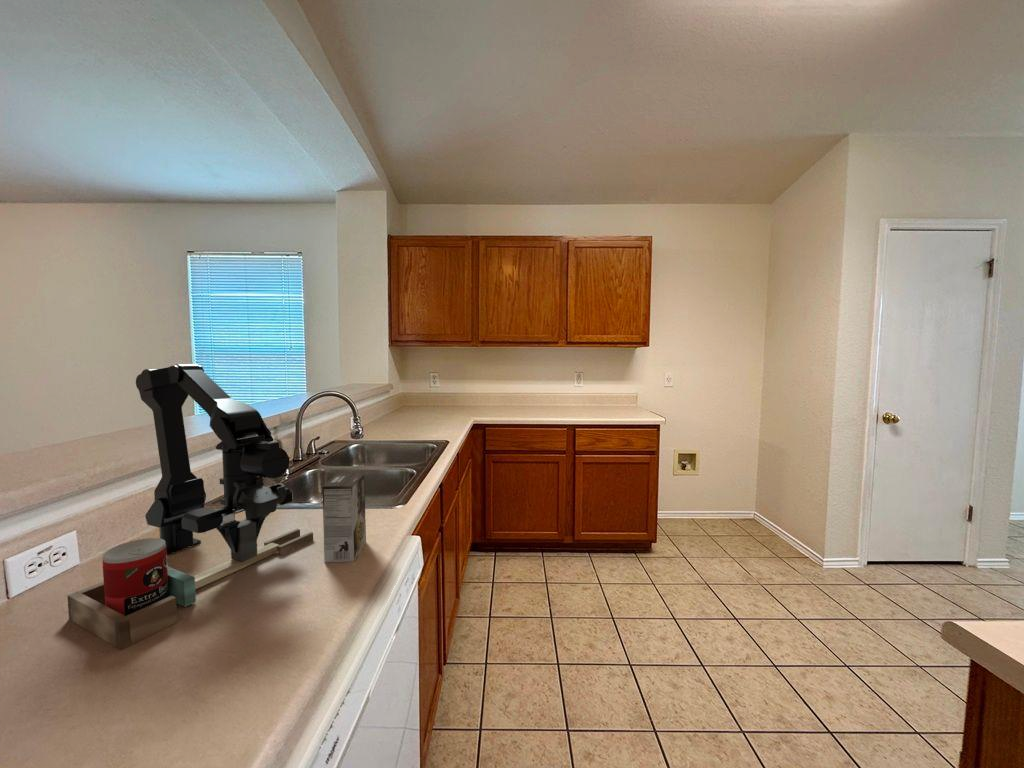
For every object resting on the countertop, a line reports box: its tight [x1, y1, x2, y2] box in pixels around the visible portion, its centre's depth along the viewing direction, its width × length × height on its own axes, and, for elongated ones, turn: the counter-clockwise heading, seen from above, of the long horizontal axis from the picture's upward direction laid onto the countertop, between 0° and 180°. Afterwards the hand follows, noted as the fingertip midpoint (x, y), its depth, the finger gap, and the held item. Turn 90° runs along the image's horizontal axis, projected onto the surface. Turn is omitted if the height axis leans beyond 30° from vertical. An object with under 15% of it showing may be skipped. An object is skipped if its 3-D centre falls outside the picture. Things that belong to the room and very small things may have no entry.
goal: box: [66, 581, 178, 651], centre depth 65 cm, size 16×7×4 cm, turn 65°
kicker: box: [167, 518, 279, 608], centre depth 80 cm, size 11×20×8 cm, turn 155°
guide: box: [263, 528, 314, 556], centre depth 92 cm, size 5×8×2 cm
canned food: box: [102, 537, 169, 616], centre depth 67 cm, size 8×8×11 cm
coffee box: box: [321, 473, 367, 563], centre depth 88 cm, size 9×6×16 cm
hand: (243, 548), depth 83 cm, fingers closed on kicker, 3 cm apart
